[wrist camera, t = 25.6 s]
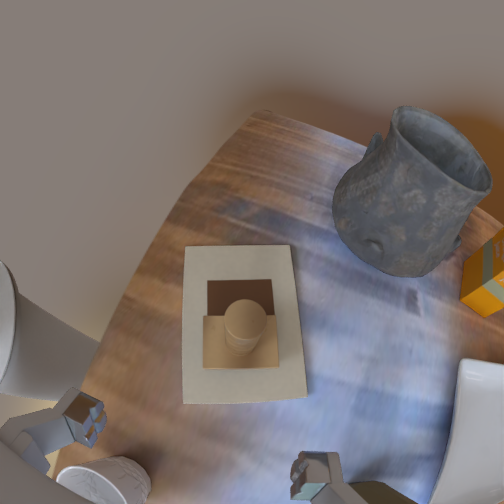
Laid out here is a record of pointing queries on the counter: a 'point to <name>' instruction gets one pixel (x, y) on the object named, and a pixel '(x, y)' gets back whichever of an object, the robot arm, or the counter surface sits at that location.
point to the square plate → (474, 438)
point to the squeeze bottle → (380, 493)
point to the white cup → (108, 481)
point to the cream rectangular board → (215, 304)
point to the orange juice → (485, 277)
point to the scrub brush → (240, 339)
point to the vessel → (410, 194)
